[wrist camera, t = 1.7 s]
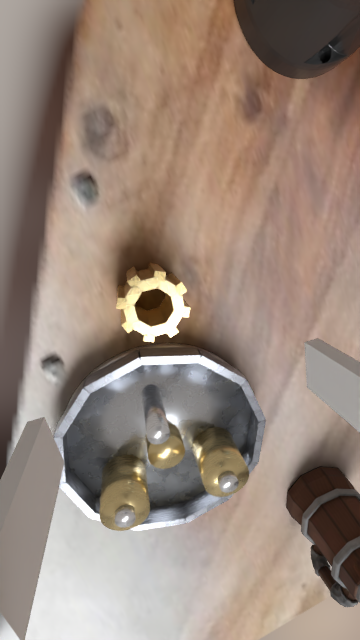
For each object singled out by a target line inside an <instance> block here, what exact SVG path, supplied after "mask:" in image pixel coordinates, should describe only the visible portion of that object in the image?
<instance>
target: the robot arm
mask: <svg viewBox="0 0 360 640" xmlns="http://www.w3.org/2000/svg"><path fill="white" fill-rule="evenodd" d="M234 3H235V8H236V13H237V17H238V20H239V23H240V26H241V29H242V31H243V33H244V36H245V38H246V40H247V41H248V43H249V45H250V47H251V48H252V50H253V51H254V52H255V54H256V55H257V56H258V57H259V58H260V60H261V61H262V62H263V63H264V64H266V65H267V66H268V67H269V68H271V69H272V70H274V71H275V72H277V73H279V74H281V75H284V76H287V77H290V78H296V79H307V78H313V77H316V76H319V75H322V74H324V73H326V72H328V71H330V70H331V69H333V68H334V67H335V66H337V65H338V64H340V63H341V62H342V61H344V60H345V59H346V58H348V57H349V56H350V55H351V54H353V53H354V52H355V51H356V50H357V49H358V48H359V47H360V0H234ZM305 360H306V378H307V388H309V389H310V390H311V391H312V392H313V393H314V394H316V395H317V396H318V397H319V398H320V399H321V400H322V401H324V402H325V403H326V404H327V405H328V406H329V407H331V408H332V409H333V410H334V411H335V412H336V413H338V414H339V415H340V416H341V417H342V418H343V419H345V420H346V421H347V422H348V423H349V424H350V425H351V426H353V427H354V428H355V429H356V430H357V431H358V432H360V362H359V361H357V360H355V359H353V358H352V357H350V356H348V355H346V354H345V353H343V352H341V351H339V350H338V349H336V348H334V347H332V346H331V345H329V344H327V343H325V342H324V341H322V340H320V339H318V338H317V339H314V340H310V341H307V342H305ZM63 467H64V460H63V458H62V455H61V453H60V451H59V449H58V446H57V444H56V442H55V440H54V438H53V435H52V433H51V431H50V429H49V426H48V424H47V422H46V420H45V417H43V418H40V419H36V420H33V421H29V422H27V424H26V426H25V428H24V430H23V432H22V435H21V437H20V439H19V441H18V443H17V445H16V448H15V450H14V452H13V454H12V456H11V458H10V461H9V463H8V465H7V467H6V469H5V472H4V474H3V476H2V478H1V480H0V640H25V636H26V631H27V627H28V622H29V618H30V613H31V609H32V605H33V600H34V596H35V591H36V587H37V582H38V578H39V573H40V569H41V564H42V560H43V556H44V551H45V547H46V542H47V538H48V533H49V529H50V524H51V520H52V516H53V511H54V507H55V502H56V498H57V493H58V489H59V484H60V480H61V476H62V471H63Z"/></svg>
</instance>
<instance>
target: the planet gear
mask: <svg viewBox="0 0 360 640" xmlns="http://www.w3.org/2000/svg"><path fill="white" fill-rule="evenodd" d="M126 275H127V282H126V284H125V285H124V286H120V285H118V290H117V306H116V308H117V309H121V325H122V327H123V328H124V329H125V330H126V331H127V333H129V332H131V331H132V330H133V329H134V330H136V331H137V332H139V333H141V334H142V337H143V341H146V342H154V339H155V336H158V335H162V334H165V333H167V334H168V335H169V336H170V338H171V337H172V336H174V335H175V334H177V333H178V332H179V331H178V329H177V327H176V325H177V324H178V322H179V321H180V319H181V318H182V317H189V312H190V308H191V307H190V306H189V305H188V304H187V303H186V301H185V300H184V299H183V298H182V294H183V293H185V292H186V291H187V290H186V288H185V287H184V285H183V284H182V282H181V281H180V280H179V279H178V278H177V277H175V276H174V275H173V274H172V273H170V274H168V275H167V276H166V272H165V271H164V270H163V269H162V268H161V267H160V265H159V264H154V263H149V267H148V269H144V270H140V271H137V270H136V269H135V267H132V268H131V269H129V270H128V271H127V272H126ZM156 288H158V289H160V290H162V291H163V292H165V296H166V297H165V298H164V300H163V301H162V303H161V305H160V306H159V307H158V308H154V309H150V310H144V309H143V308H141V307H139V306H137V305H135V303H136V301H137V300H138V298H139V296H140V295H141V293H142V292H144V291H148V290H152V289H156Z"/></svg>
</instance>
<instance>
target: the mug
mask: <svg viewBox="0 0 360 640" xmlns="http://www.w3.org/2000/svg"><path fill="white" fill-rule="evenodd" d="M286 508H287V509H288V511H289V513H290V515H291V516H292V517H293V518H294V519H295V520H296V521H297V522H298V523H299V524H300V525H301V532H302V534H303V535H304V536H305V537H306V538H307V539H308V540H309V541H311V542H312V543H313V544H314V545H312V546H311V560H312V563H313V567H314V569H315V573H316V574H317V575H318V576H320V577H321V578H322V580H323V581H324V583H325V584H326V586H327V587H328V589H329V590H330V594H331V597H332V598H333V599H334V600H336V601H337V602H338V603H339V604H340V605H343V606H344V607H353V606H355V605H357V604H358V601H359V602H360V494H359V493H358V492H357V491H356V490H355V489H354V487H353V485H352V484H351V483H350V482H349V481H348V479H347V478H346V477H345V476H344V475H343V474H342V472H341V471H340V470H339V469H338V468H330V467H319V468H316V469H314V470H312V471H310V472H308V473H306V474H304V475H302V476H300V477H299V479H298V480H297V481H296V482H295V484H294V485H293V486H292V487H291V488H290V490H289V491H288V495H287V507H286ZM327 561H328V562H329V564H330V565H331V566H332V570H330V565H329V564H328V562H327Z"/></svg>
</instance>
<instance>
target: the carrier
mask: <svg viewBox="0 0 360 640" xmlns="http://www.w3.org/2000/svg"><path fill="white" fill-rule="evenodd" d="M265 423H266V420H265V417H264V415H263V412H262V410H261V408H260V406H259V404H258V402H257V400H256V398H255V396H254V394H253V391H252V389H251V387H250V385H249V383H248V381H247V380H246V378H245V377H244V376H243V375H242V373H241V372H240V371H239V370H237V369H236V368H234V367H232V366H230V365H229V364H228V363H227V362H226V361H225V360H223V359H222V358H220V357H219V356H217V355H215V354H213V353H211V352H209V351H207V350H205V349H202V348H199V347H195V346H192V345H186V344H180V343H159V344H150V345H145V346H140V347H137V348H134V349H131V350H128V351H125V352H123V353H121V354H118V355H116V356H114V357H112V358H111V359H109V360H107V361H106V362H104V363H103V364H101V365H100V366H98V367H97V368H96V369H95V370H94V371H92V372H91V373H90V374H89V375H88V376H87V377H86V378H85V379H84V380H83V381H82V382H81V383H80V385H79V386H78V388H77V389H76V390H75V392H74V393H73V395H72V397H71V399H70V401H69V403H68V405H67V407H66V410H65V412H64V413H63V415H62V416H61V418H60V420H59V421H58V423H57V427H56V430H55V433H54V437H53V438H54V440H55V442H56V444H57V446H58V449H59V451H60V453H61V455H62V458H63V460H64V467H63V471H62V476H61V480H60V484H59V487H60V488H61V489H62V490H63V491H64V492H65V493H66V494H67V495H68V496H69V497H70V498H71V499H72V500H73V501H74V502H75V504H76V505H77V506H78V507H79V508H80V509H81V510H82V511H83V512H84V513H85V514H86V515H87V516H88V517H91V519H95V520H99V521H101V522H102V524H103V525H104V526H106V527H107V528H109V529H112V530H118V531H122V530H129V529H132V530H145V529H152V528H158V527H165V526H172V525H179V524H185V523H186V522H187V523H188V522H190V521H192V520H193V519H195V518H197V517H199V516H200V515H202V514H204V513H206V512H208V511H209V510H211V509H213V508H215V507H216V506H218V505H220V504H222V503H224V502H225V501H227V500H229V498H231V497H232V495H233V494H234V493H236V492H237V491H239V490H240V489H241V488H242V487H243V486H244V485H245V484H246V482H247V480H248V477H249V474H250V473H251V471H252V470H253V469H254V467H255V466H256V465H257V464H258V462H259V456H260V451H261V445H262V439H263V434H264V428H265Z"/></svg>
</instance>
